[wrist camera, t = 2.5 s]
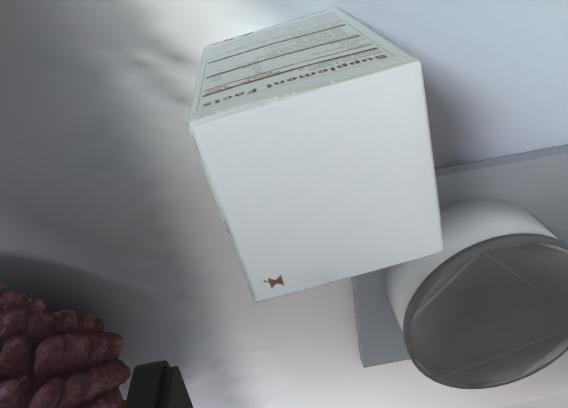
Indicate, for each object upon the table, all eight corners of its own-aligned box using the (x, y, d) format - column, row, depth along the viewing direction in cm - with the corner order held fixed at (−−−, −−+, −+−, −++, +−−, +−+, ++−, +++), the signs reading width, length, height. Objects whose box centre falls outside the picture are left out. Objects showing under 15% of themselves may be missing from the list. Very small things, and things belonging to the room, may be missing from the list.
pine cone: (-128, 269, 30) (-276, 409, 21) (-16, 177, 27) (-128, 290, 19) (92, 413, 37) (51, 559, 29) (192, 351, 35) (181, 487, 27)
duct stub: (342, 185, 30) (367, 239, 25) (580, 142, 30) (654, 186, 25) (360, 357, 37) (382, 426, 32) (551, 321, 38) (604, 384, 32)
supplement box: (363, 133, 28) (449, 259, 18) (240, 166, 29) (249, 311, 18) (339, 1, 25) (429, 55, 14) (200, 40, 25) (179, 124, 14)
